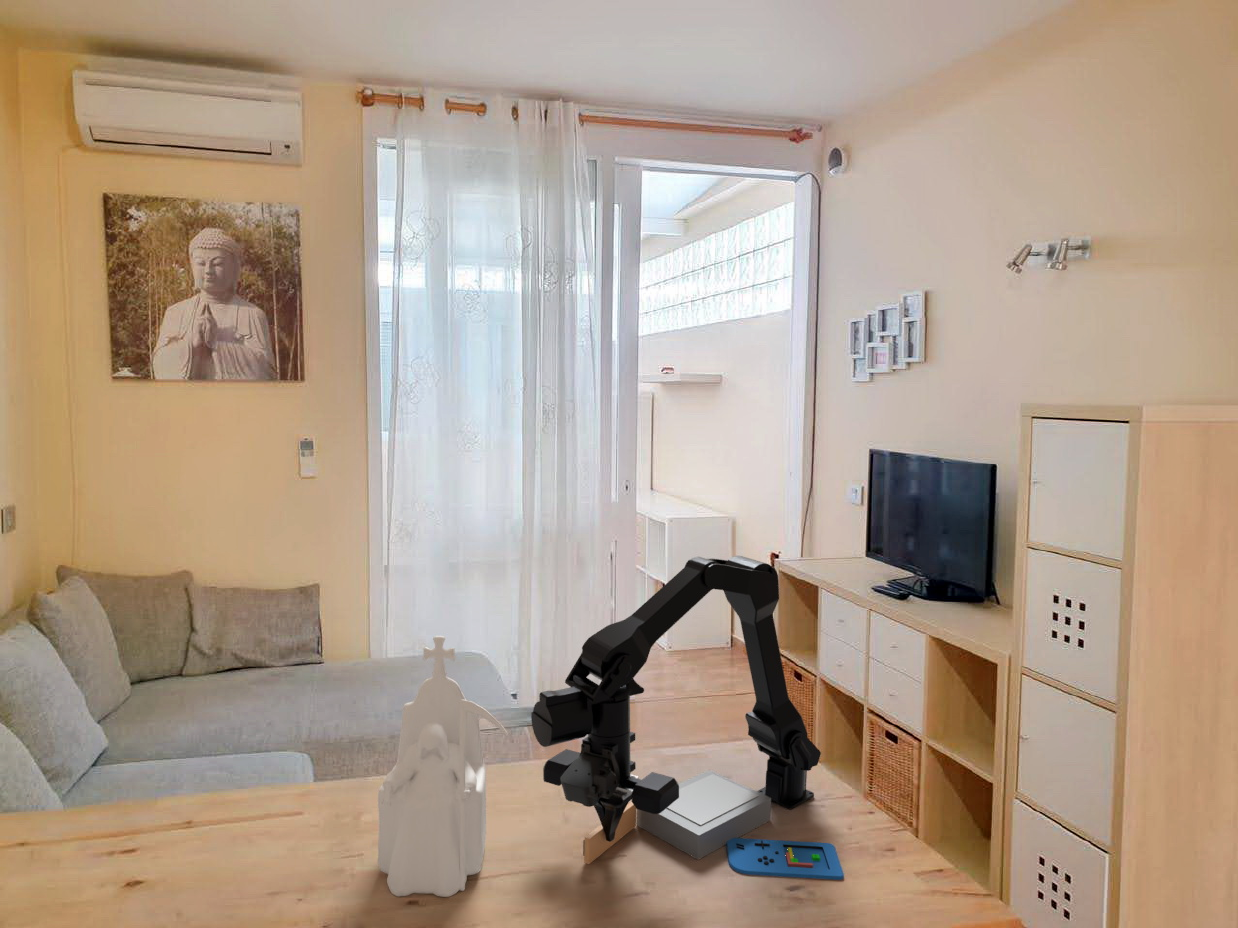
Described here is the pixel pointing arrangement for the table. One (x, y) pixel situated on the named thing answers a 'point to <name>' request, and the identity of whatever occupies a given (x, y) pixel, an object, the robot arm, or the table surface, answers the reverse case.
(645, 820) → the case
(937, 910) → the table surface
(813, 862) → the handheld gaming device
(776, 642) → the robot arm
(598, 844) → the case door
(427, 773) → the religious statue
